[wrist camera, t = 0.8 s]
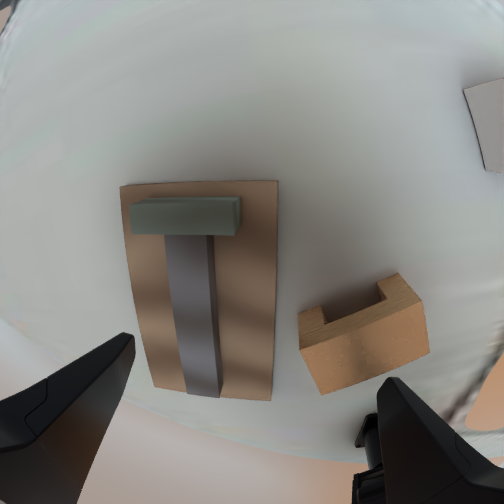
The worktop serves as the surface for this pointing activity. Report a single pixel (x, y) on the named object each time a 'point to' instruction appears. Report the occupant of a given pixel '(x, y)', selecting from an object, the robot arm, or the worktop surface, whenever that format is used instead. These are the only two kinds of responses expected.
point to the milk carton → (489, 121)
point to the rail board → (233, 288)
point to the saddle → (364, 338)
